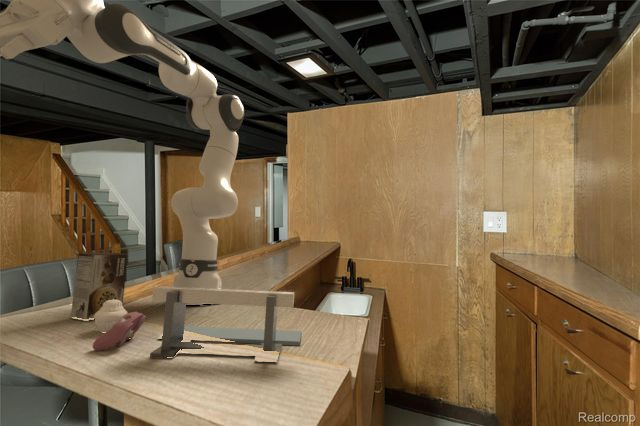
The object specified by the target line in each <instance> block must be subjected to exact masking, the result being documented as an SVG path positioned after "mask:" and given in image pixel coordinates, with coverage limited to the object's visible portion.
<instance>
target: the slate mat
mask: <svg viewBox="0 0 640 426" xmlns="http://www.w3.org/2000/svg"><path fill="white" fill-rule="evenodd" d="M184 330H185V331H189V332H194V333H197V334H201V335H206V336H210V337H215V338H220V339H225V340H230V341H235V342H239V343H238V344H250V345H261V344H262V343H264V331H265V328H244V327H243V328H241V327H240V328H239V327H219V326H216V327H215V326H196V325H195V326H194V325H193V326H192V325H184ZM301 339H302V330H290V329H289V330H287V329H276V340H275V344H282V346H298V347H299V346H300V345H301Z"/></svg>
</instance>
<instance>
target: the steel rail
mask: <svg viewBox="0 0 640 426" xmlns="http://www.w3.org/2000/svg"><path fill="white" fill-rule="evenodd" d="M152 290H153V291H152V299H151V300H152V302H165V303H166V295H167V292H169V291H176V292H178V298H177V302H183V303H205V304H211V305H229V306H233V305H234V306H254V307H255V306H256V307H266V300H267V296H276V301H275V307H277V308H278V307H279V308H294V306H295V305H294V303H295V291H293V292H292V291H274V290H273V291H270V290H268V291H267V290H252V289H230V288H229V289H226V288H221V289H210V288H188V287H173V286H166V285H165V286H164V285H160V286H156V287H153V289H152Z"/></svg>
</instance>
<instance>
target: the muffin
mask: <svg viewBox="0 0 640 426" xmlns="http://www.w3.org/2000/svg"><path fill="white" fill-rule="evenodd" d="M127 313H128V311H127V310H126V309H125V308H124V306H122V302H121V301H120V300H114V299H112V300H108V301H106V302H104V303H103V307H101V308H100V310H99V311H97V312H96V313H95V315H94V319H95V320H94V323H95V325H96V327H97V329H98V331H99V333H100V332H107V331H109V330H110V329H111V328H112V327H113V326H114V325H115V324H116V323H117V322H118V321H119V320H121V319H122V317H123V316H124V315H125V314H127Z"/></svg>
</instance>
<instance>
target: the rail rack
mask: <svg viewBox="0 0 640 426" xmlns="http://www.w3.org/2000/svg"><path fill="white" fill-rule="evenodd" d="M177 298H178V292H176V291H169V292H167V295H166V302H165V309H164V315H163V316H164V318H163V327H162V333H163V336H162V340H161V345H160V346H159V347H157V348H155V349H154V350H153V351H151V352H150V353H149V358H150V359H165V358H167V357H174V356H175V355H176V353H177V352H178V351H179V350H180V349H181V350H182V349H201V348H204V347H202V346H201V345H198V344H195V343H194V344H193V343H192V342H193V341H191V342H181V341H182V340H183V334H184V326H185V321H186V311H187V306H186V303H183V302H177ZM275 301H276V296H267V300H266V306H265V319H264V329H265V331H264V343H262V344H250V343H244V344H245V345H249V346H253V347H258V348H263V350H264V351H277V352H282V350H283V345H282V344H275V340H276V330H277V325H278V324H277V323H278V322H277V321H278V307H275Z"/></svg>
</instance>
